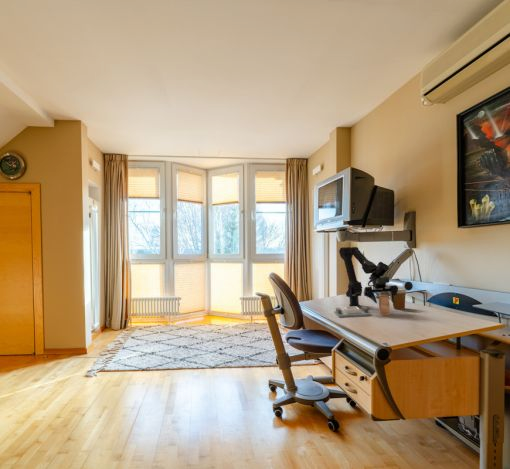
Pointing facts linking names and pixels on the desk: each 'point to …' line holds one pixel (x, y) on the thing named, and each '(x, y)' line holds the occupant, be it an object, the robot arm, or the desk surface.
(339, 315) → the socket plate
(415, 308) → the desk surface
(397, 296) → the disposable coffee cup
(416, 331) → the desk surface
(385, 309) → the peg
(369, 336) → the desk surface
